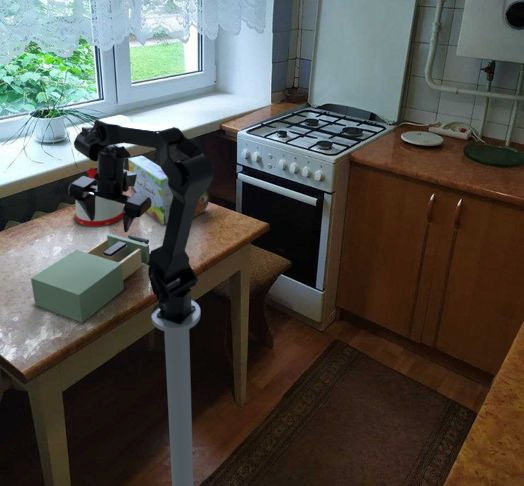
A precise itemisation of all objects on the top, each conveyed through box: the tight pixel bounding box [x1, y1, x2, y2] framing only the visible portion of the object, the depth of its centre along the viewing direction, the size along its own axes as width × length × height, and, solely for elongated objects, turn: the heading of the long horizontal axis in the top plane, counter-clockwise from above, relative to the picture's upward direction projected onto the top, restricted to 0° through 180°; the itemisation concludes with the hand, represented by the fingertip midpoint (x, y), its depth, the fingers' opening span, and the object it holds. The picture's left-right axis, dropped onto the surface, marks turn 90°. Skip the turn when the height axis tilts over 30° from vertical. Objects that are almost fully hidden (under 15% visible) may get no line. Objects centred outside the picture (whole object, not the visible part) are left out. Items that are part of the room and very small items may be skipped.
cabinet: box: [30, 249, 125, 323], centre depth 112 cm, size 14×14×7 cm
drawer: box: [85, 233, 151, 281], centre depth 124 cm, size 17×12×5 cm
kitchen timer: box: [75, 167, 125, 227], centre depth 149 cm, size 14×14×15 cm
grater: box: [103, 241, 128, 263], centre depth 123 cm, size 6×3×4 cm, turn 156°
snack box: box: [127, 155, 173, 226], centre depth 153 cm, size 21×6×15 cm, turn 40°
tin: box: [170, 189, 210, 218], centre depth 151 cm, size 15×3×8 cm, turn 143°
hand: (109, 225), depth 119 cm, fingers open, 9 cm apart
